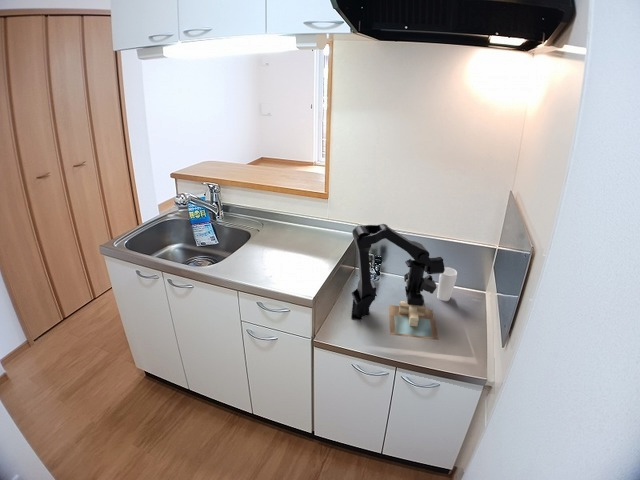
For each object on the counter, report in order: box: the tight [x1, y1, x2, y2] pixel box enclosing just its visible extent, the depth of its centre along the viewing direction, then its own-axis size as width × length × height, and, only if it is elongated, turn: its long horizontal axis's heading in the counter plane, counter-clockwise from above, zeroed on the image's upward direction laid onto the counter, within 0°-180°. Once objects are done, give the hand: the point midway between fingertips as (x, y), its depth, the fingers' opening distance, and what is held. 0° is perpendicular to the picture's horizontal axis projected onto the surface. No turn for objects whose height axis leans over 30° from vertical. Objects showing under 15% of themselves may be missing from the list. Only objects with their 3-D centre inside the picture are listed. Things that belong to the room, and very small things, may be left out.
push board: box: [388, 304, 440, 341], centre depth 143 cm, size 18×18×2 cm
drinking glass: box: [436, 266, 458, 302], centre depth 155 cm, size 7×7×15 cm
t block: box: [398, 300, 427, 326], centre depth 144 cm, size 10×10×4 cm
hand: (410, 305), depth 151 cm, fingers closed
